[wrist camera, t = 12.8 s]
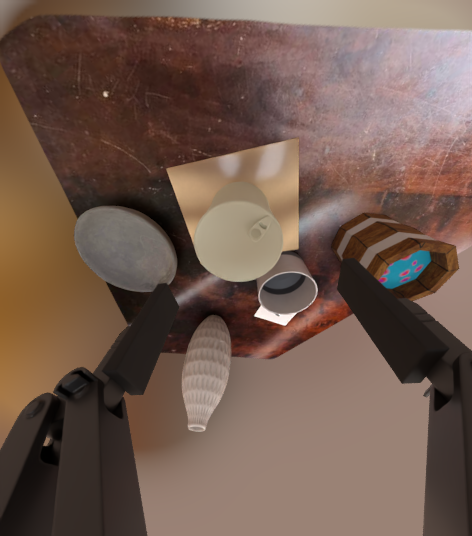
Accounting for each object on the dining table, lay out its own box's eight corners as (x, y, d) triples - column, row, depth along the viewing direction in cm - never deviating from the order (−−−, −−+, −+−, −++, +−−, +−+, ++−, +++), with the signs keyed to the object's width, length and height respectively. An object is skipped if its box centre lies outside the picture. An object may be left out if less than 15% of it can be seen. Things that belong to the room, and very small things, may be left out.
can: (281, 212, 27) (304, 248, 17) (240, 250, 31) (239, 297, 21) (238, 165, 24) (235, 175, 14) (199, 215, 28) (173, 250, 18)
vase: (204, 334, 64) (182, 438, 41) (190, 311, 58) (154, 420, 34) (237, 329, 62) (233, 436, 39) (226, 304, 55) (214, 416, 32)
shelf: (188, 164, 34) (165, 168, 24) (281, 142, 32) (298, 137, 22) (210, 238, 43) (200, 264, 33) (284, 225, 40) (298, 249, 30)
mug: (331, 220, 39) (372, 252, 27) (398, 203, 37) (478, 230, 24) (330, 285, 50) (360, 330, 37) (383, 275, 47) (433, 319, 35)
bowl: (200, 234, 42) (192, 249, 36) (166, 286, 52) (155, 306, 45) (111, 177, 36) (81, 182, 29) (91, 249, 46) (65, 265, 39)
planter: (270, 239, 42) (277, 262, 34) (313, 259, 45) (330, 284, 36) (247, 277, 49) (248, 304, 40) (286, 292, 52) (294, 320, 43)
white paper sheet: (305, 302, 54) (307, 306, 52) (285, 325, 60) (286, 329, 59) (271, 291, 52) (272, 294, 50) (253, 316, 58) (254, 319, 57)
